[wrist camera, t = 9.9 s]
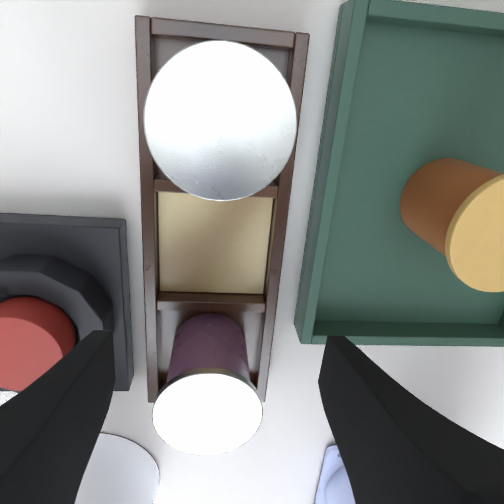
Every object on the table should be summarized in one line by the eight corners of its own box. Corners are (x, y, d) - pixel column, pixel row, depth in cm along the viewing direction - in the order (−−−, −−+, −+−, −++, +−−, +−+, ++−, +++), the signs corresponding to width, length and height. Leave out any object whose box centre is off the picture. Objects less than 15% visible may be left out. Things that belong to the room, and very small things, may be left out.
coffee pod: (499, 153, 19) (598, 176, 14) (469, 245, 21) (546, 294, 16) (404, 145, 19) (472, 168, 14) (382, 241, 21) (435, 290, 16)
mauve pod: (255, 307, 22) (267, 373, 17) (249, 377, 24) (257, 454, 19) (165, 305, 21) (150, 372, 16) (166, 376, 23) (153, 456, 18)
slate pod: (280, 58, 17) (307, 48, 12) (269, 173, 19) (288, 205, 14) (163, 47, 16) (140, 31, 11) (164, 166, 18) (145, 197, 13)
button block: (-46, 210, 18) (-95, 233, 16) (125, 218, 19) (109, 242, 16) (-7, 374, 22) (-41, 417, 19) (133, 374, 23) (122, 416, 20)
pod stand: (302, 37, 17) (310, 32, 15) (262, 384, 24) (265, 402, 23) (141, 20, 16) (134, 14, 15) (151, 384, 24) (147, 403, 22)
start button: (-22, 294, 17) (-46, 316, 16) (71, 297, 18) (57, 318, 16) (-5, 365, 19) (-26, 391, 17) (79, 365, 19) (67, 391, 18)
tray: (613, 36, 18) (658, 31, 16) (498, 327, 24) (520, 347, 22) (339, 5, 16) (355, -5, 15) (293, 323, 23) (300, 344, 21)
